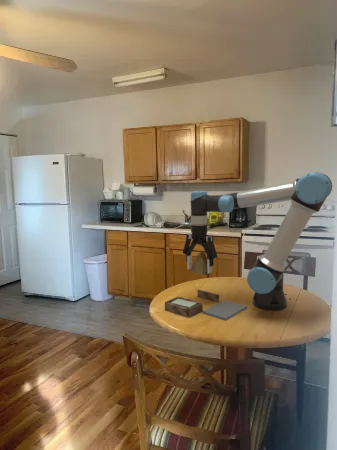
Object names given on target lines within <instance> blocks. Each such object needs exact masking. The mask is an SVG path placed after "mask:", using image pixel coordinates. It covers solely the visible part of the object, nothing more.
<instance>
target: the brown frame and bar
mask: <svg viewBox="0 0 337 450" xmlns="http://www.w3.org/2000/svg"><path fill="white" fill-rule="evenodd" d="M196 295H197V298H200V299H204V300H209V301H211V302H216V303H220V294H217V293H213V292H210V291H206V290H203V289H197V294H196ZM177 299H182V300H186V301H190V302H195V303H197V305H195V306H193V307H191V308H189V309H188V308H185V307H182V306H178V305H175V304H172V303H171V302H173V301H175V300H177ZM203 306H204V305H203V303H202V302H199V301H196V300H193V299H190V298H185V297H183V296H176V297H174V298H171V299H168V300H166V301H164V310H165V311H167V312H170V313H173V314H176V315H179V316H182V317H185V318H192V317H194V316H196V315H198V314H200V313H202V311H204V310H203Z"/></svg>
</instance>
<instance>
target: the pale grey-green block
mask: <svg viewBox="0 0 337 450" xmlns="http://www.w3.org/2000/svg"><path fill="white" fill-rule="evenodd" d="M171 303H172V304H175V305H178V306H182V307H185V308H188V309H189V308H191V307H193V306H195V305H197V303H195V302H190V301H186V300H182V299H177V300H175V301H173V302H171Z"/></svg>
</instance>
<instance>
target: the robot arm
mask: <svg viewBox="0 0 337 450" xmlns="http://www.w3.org/2000/svg"><path fill="white" fill-rule="evenodd" d="M332 190H333V182H332V180H331V178H330V177H329V176H328V175H326V174H325V173H322V172H319V171H311V172H307V173H304V175H301V177H300V178H295V179H294V181H291V182H286V183H280V184H275V185H271V186H264V187H259V188H255V189H254V188H253V189H248V190H244V191H243V190H242V191H237V192H231V193H227V194H214V195H209V194H208V192H207V191H206V190H194V191H191V192H190V201H189V202H190V224H191V225H190V232H191V233H188V234H186V235H185V236H186V237H185V243H184V246H183V250H182V254H184V255H185V258H186V260H185V261H186V263H187V267H186V268H187V270H191V269H192V265H193V255H192V253H193V251H194V249H195V247H196V246H197V245H199V246H201V247H202V248H203V250H204V253H205V255H206V257H208V258H207V273H209V274H211V273H213V266H214V264H215V263H214V259H217V258H218V254H217V251H216V247H215V244H214V237H213V236H208V225H207V224H208V213H210V212H211V213H212V212H213V213H223V214H224V213H231V212H233V210H237V209H241V208H249V207H257V206H260V205H262V206H263V205H269V204H275V203H280V202H287V201H290V203H291V206H289V209H288V211H287V212H286V214H285V216H284V218H283V220H281V223H280V225H279V227H278V228H277V231H276V232H275V234H274V236H273V238H272V239H271V241H270V243H269V246H268V247H267V249H266V251H265V253H264V254H261V255H258V256H257V259H256V261H255V263H254V265H253V267H252V268H251V269H250V270H249V271H248V272H247V273H248V274H247V277H246V281H247V284H248V286H249V288H250V289H251V290H252V291H253V292H254V295H253V297H252V304H253V306H255V307H257V308H259V309H262V310H269V311H278V310H283V309H285V308H287V305H288V303H287V297H286V295H285V292H284V272H285V263H286V260H288V259H287V258H288V257H290V254H291V252H292V250H293V249H294V247H295V246H296V243H297V241H298V240H299V238H300V237H301V235H302V233H303V231H304V230H305V228H306V226H307V225H308V223H309V222H310V219H311V218H312V215H314V214H316V213H319V212H320V210H321V208H322V207H323V205H324V203H325V201H326V200H327V198H328V196H330V194H331V193H332Z"/></svg>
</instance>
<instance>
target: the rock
mask: <svg viewBox="0 0 337 450" xmlns="http://www.w3.org/2000/svg"><path fill="white" fill-rule="evenodd" d="M195 258H196V259H194V260H195V261H194V262H192V269H190V271H191V272H192V273H195V274H198V275H203V276H209V275H210V273H207V259H208V258H207V254H206V252H205V251H202V250H201V251H200V252H199V253H198V254H197V256H196V257H195Z"/></svg>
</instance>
